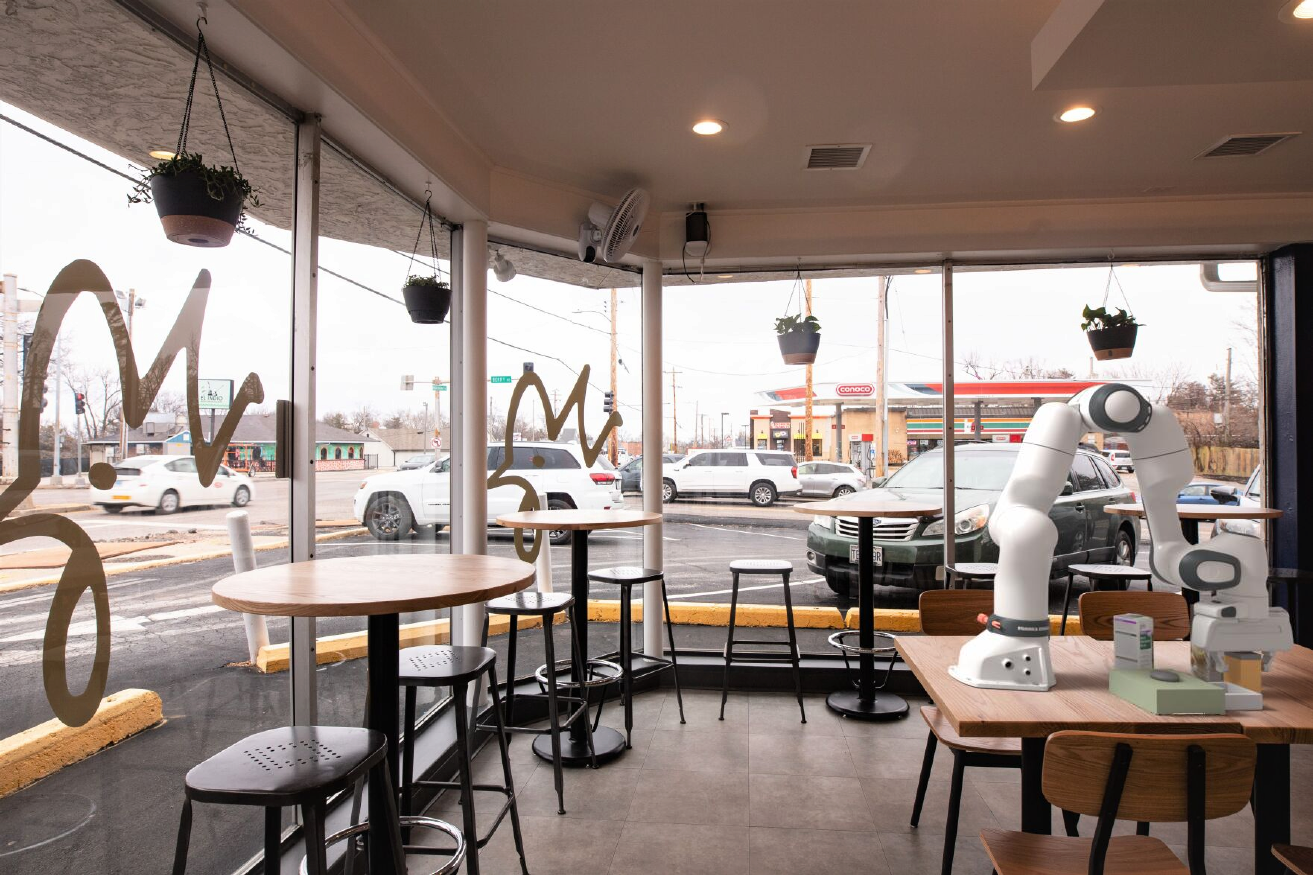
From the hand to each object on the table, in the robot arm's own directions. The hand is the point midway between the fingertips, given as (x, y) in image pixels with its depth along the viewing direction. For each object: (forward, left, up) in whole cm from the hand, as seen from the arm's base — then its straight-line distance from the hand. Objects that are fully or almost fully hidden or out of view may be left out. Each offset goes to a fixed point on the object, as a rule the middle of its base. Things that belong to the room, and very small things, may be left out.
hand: (1243, 671), depth 160 cm
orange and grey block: (0, 0, -5) cm, 5 cm away
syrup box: (-17, +10, -5) cm, 21 cm away
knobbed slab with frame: (-17, -6, -5) cm, 19 cm away
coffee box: (+3, +11, -5) cm, 12 cm away
